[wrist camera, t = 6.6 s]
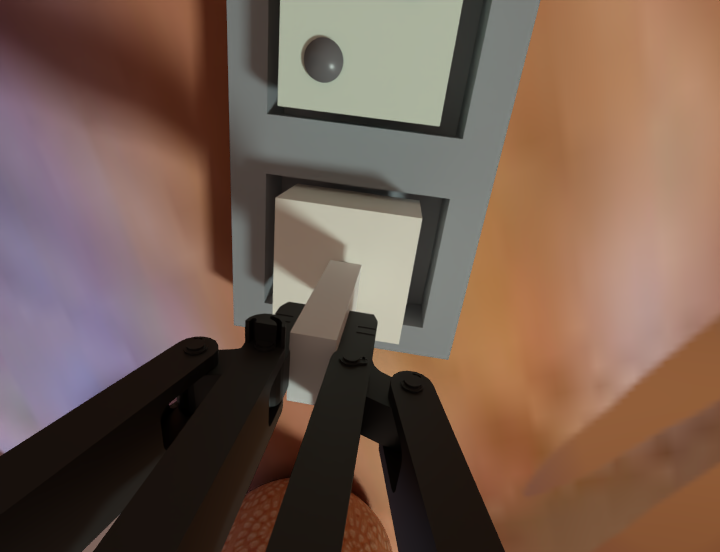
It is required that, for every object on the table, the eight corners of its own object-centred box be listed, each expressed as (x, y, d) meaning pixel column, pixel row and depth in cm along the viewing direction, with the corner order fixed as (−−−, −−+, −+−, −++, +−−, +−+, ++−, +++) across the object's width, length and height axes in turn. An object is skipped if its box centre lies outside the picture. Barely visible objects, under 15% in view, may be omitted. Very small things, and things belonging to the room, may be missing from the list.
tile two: (300, 107, 20) (276, 105, 16) (309, -61, 17) (281, -111, 13) (433, 124, 20) (440, 126, 16) (463, -45, 17) (480, -93, 13)
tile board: (256, 297, 28) (234, 325, 25) (259, -479, 15) (210, -677, 11) (442, 327, 28) (448, 359, 24) (631, -464, 14) (711, -672, 10)
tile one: (292, 292, 24) (271, 325, 21) (297, 183, 22) (274, 198, 18) (399, 309, 24) (398, 346, 20) (419, 200, 21) (422, 219, 17)
